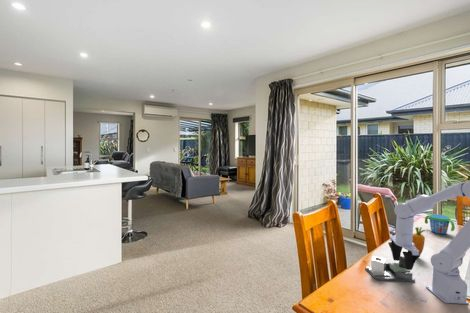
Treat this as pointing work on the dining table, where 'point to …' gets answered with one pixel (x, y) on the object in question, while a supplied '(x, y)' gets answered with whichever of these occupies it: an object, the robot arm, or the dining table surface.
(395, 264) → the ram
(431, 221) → the snack cup
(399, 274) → the press
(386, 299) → the dining table surface
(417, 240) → the carrot
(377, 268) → the block
